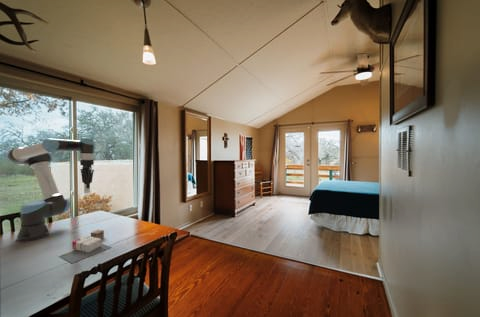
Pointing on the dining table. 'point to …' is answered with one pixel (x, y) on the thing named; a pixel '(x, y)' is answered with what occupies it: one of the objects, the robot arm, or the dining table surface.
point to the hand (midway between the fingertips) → (87, 192)
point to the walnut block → (98, 234)
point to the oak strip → (68, 252)
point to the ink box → (86, 244)
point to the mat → (83, 254)
